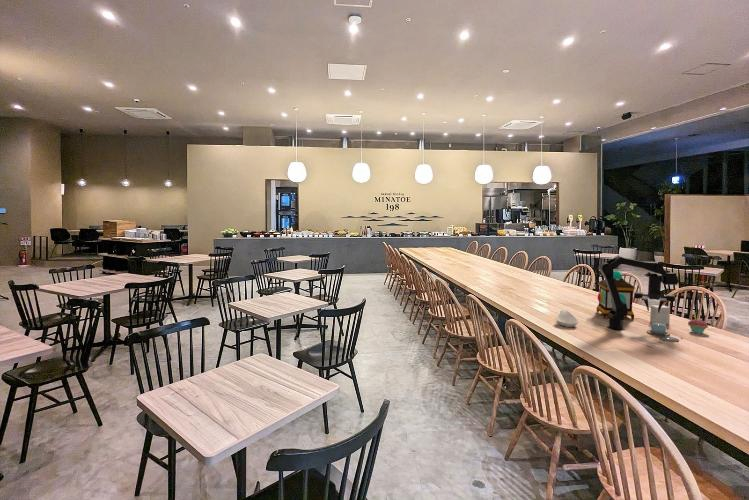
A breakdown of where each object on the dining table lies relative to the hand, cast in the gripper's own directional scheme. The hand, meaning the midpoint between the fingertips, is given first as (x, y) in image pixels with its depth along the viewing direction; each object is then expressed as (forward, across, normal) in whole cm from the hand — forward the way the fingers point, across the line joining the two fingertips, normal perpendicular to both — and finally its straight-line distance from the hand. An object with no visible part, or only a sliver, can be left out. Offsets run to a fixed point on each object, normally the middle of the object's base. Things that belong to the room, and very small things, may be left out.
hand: (653, 311), depth 220 cm
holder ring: (+11, +2, -6) cm, 13 cm away
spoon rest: (+12, -44, -9) cm, 46 cm away
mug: (+11, +3, -4) cm, 12 cm away
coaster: (+11, +7, -15) cm, 20 cm away
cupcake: (+11, +21, +8) cm, 25 cm away
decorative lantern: (+11, -20, +25) cm, 34 cm away
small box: (+11, +4, +20) cm, 23 cm away
